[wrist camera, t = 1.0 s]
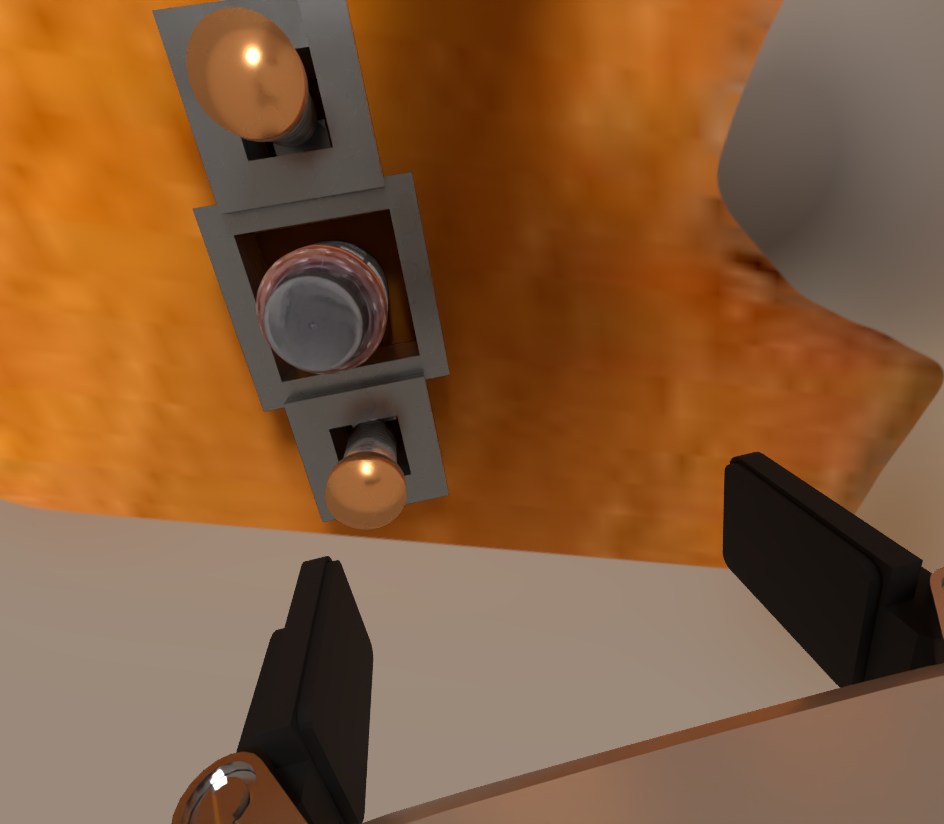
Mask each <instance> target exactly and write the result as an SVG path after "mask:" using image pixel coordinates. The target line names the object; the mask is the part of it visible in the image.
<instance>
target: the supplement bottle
mask: <svg viewBox="0 0 944 824" xmlns="http://www.w3.org/2000/svg"><path fill="white" fill-rule="evenodd" d="M388 298H389V291H388V285H387V280H386V277H385V274H384V272H383V270H382V268H381V266H380V265H379V263H378V262H377V261H376V259H375V258H374V257H373V256H372V255H371V254H370V253H369V252H367V251H366V250H364V249H363V248H362V247H360V246H358V245H356V244H353V243H350V242H347V241H342V240H326V241H321V242H318V243H314V244H311V245H308V246H305V247H302V248H299V249H296V250H294V251H292V252H290V253H288V254H286V255H285V256H283V257H281V258H280V259H279V260H277V261H276V262H275V263H274V264H273V265H272V266H271V267H270V268H269V269H268V271H267V272H266V273H265V275H264V277H263V279H262V281H261V283H260V286H259V288H258V292H257V298H256V314H257V319H258V323H259V327H260V329H261V331H262V334H263V336H264V338H265V339H266V341H267V342H268V344H269V345H270V347H271V348H272V349H273V350H274V351H275V353H276V354H277V355H278V356H280V357H281V358H282V359H283V360H284V361H286V362H287V363H289V364H291V365H292V366H294V367H296V368H298V369H301V370H303V371H306V372H309V373H315V374H320V375H322V374H338V373H342V372H346V371H348V370H351V369H354V368H356V367H357V366H359V365H361V364H362V363H363V362H365V361H366V360H367V359H368V358H369V357H370V356H371V355H372V354H373V353H374V352H375V350H376V349H377V347H378V345H379V344H380V342H381V340H382V338H383V335H384V332H385V328H386V323H387V315H388Z"/></svg>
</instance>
